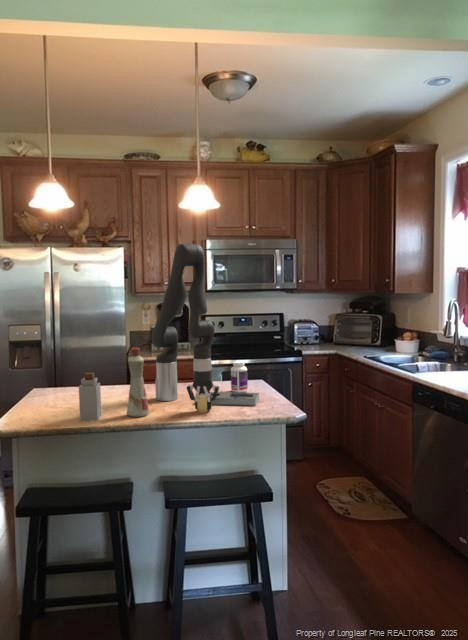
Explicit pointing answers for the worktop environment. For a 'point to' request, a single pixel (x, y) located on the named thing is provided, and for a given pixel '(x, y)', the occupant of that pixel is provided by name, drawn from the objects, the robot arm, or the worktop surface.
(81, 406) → the perfume bottle
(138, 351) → the bottle
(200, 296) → the robot arm
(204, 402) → the block
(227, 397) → the silver slotted board
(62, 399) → the worktop surface
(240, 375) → the pill bottle
